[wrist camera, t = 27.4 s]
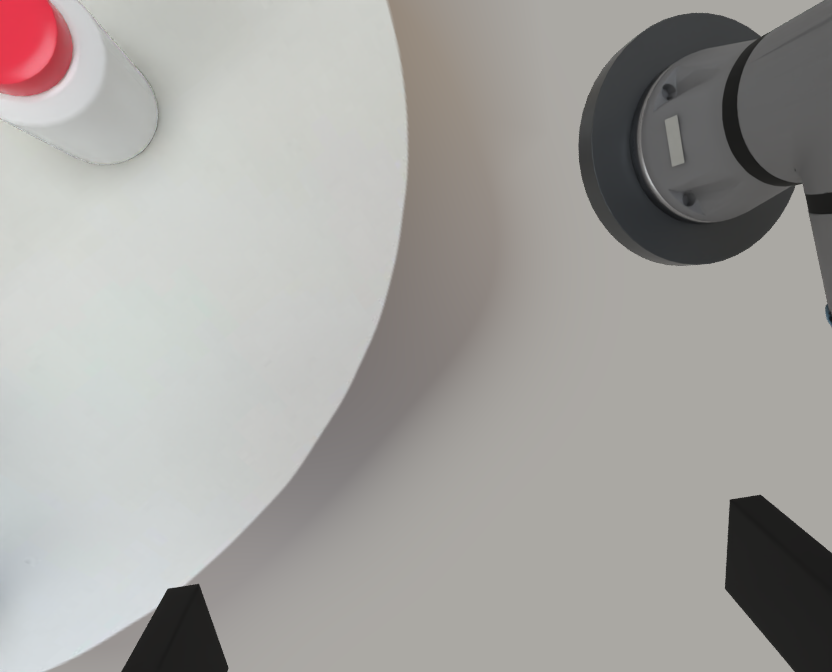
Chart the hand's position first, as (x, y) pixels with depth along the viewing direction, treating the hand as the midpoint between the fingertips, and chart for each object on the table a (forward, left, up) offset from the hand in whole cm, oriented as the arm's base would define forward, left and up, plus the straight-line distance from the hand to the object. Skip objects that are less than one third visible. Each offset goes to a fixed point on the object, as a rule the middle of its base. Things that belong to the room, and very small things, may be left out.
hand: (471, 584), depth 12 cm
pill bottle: (+12, -24, -28) cm, 39 cm away
